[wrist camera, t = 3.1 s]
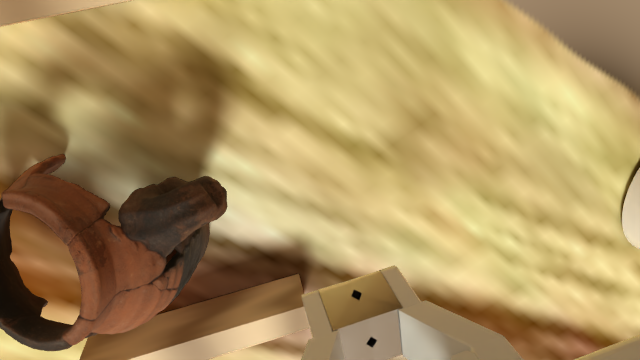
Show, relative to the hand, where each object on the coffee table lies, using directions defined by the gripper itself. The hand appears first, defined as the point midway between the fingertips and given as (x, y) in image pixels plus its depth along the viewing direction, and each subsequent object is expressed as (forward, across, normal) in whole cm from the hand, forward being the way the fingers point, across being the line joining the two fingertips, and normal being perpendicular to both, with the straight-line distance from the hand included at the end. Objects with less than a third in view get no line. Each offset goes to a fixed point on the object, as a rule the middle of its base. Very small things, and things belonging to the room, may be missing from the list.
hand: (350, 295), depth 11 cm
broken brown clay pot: (+12, +9, +1) cm, 15 cm away
